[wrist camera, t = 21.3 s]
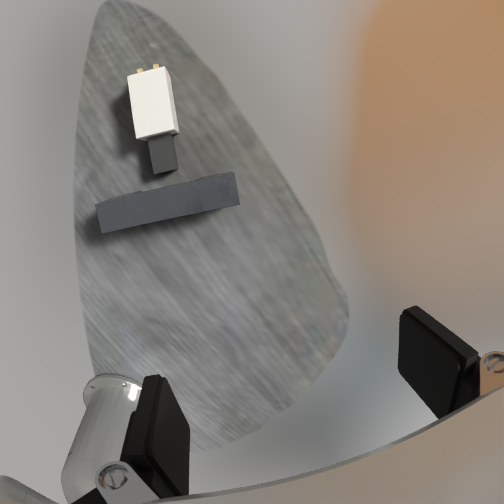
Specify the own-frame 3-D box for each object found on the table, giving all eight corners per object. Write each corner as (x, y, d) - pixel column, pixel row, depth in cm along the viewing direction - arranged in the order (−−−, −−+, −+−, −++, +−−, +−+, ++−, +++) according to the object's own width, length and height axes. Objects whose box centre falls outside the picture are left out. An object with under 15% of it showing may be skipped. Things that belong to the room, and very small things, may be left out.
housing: (236, 197, 35) (240, 204, 29) (119, 222, 34) (101, 233, 29) (231, 171, 34) (234, 173, 28) (113, 197, 33) (95, 204, 28)
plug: (185, 167, 34) (181, 167, 30) (151, 175, 33) (143, 176, 29) (169, 68, 30) (163, 58, 26) (135, 77, 30) (126, 68, 26)
